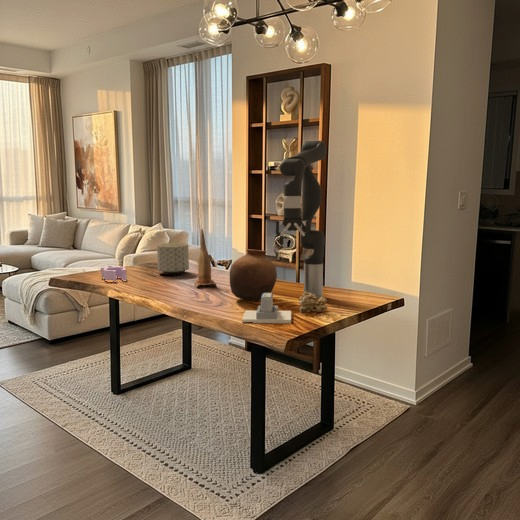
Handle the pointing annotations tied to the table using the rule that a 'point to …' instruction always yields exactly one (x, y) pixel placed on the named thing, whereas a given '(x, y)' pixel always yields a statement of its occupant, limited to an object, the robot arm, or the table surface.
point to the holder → (267, 316)
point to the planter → (173, 258)
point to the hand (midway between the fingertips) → (292, 244)
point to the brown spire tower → (204, 265)
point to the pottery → (252, 276)
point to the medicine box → (267, 302)
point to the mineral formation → (312, 303)
